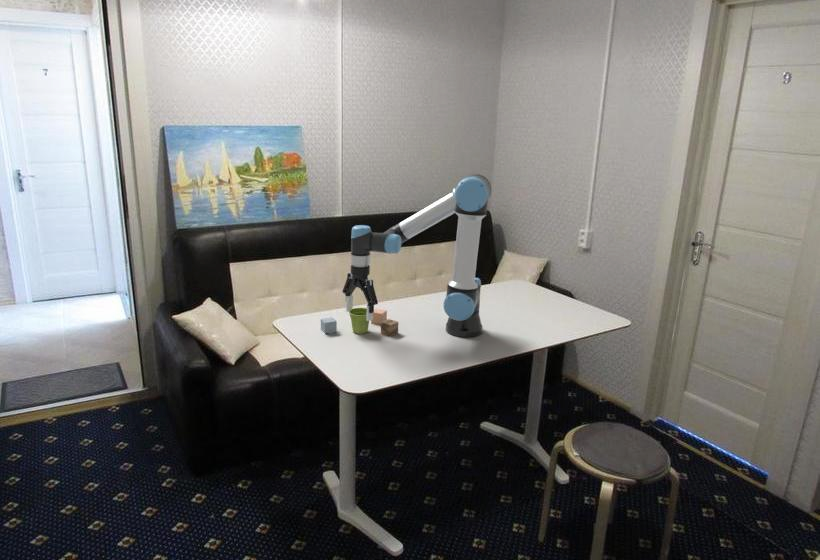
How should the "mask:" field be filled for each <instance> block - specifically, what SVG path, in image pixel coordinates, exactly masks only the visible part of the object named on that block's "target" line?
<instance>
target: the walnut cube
mask: <svg viewBox="0 0 820 560" xmlns="http://www.w3.org/2000/svg"><path fill="white" fill-rule="evenodd" d="M380 334H381V335H383V336H387V337H393V336H395V335H397V334H399V321H397V320H393V319H390V318H389V319H387V320H385V321H383V322H381V325H380Z"/></svg>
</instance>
